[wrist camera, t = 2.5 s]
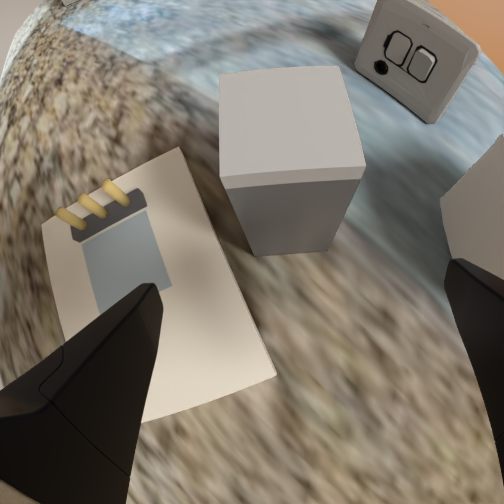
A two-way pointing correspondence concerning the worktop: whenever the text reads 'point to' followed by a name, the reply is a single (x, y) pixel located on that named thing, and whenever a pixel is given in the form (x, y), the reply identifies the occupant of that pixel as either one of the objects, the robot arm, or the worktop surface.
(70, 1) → the supplement box
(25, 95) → the worktop surface
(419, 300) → the worktop surface
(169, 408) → the board
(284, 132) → the plug block
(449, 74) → the electrical switch
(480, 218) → the toilet tissue
